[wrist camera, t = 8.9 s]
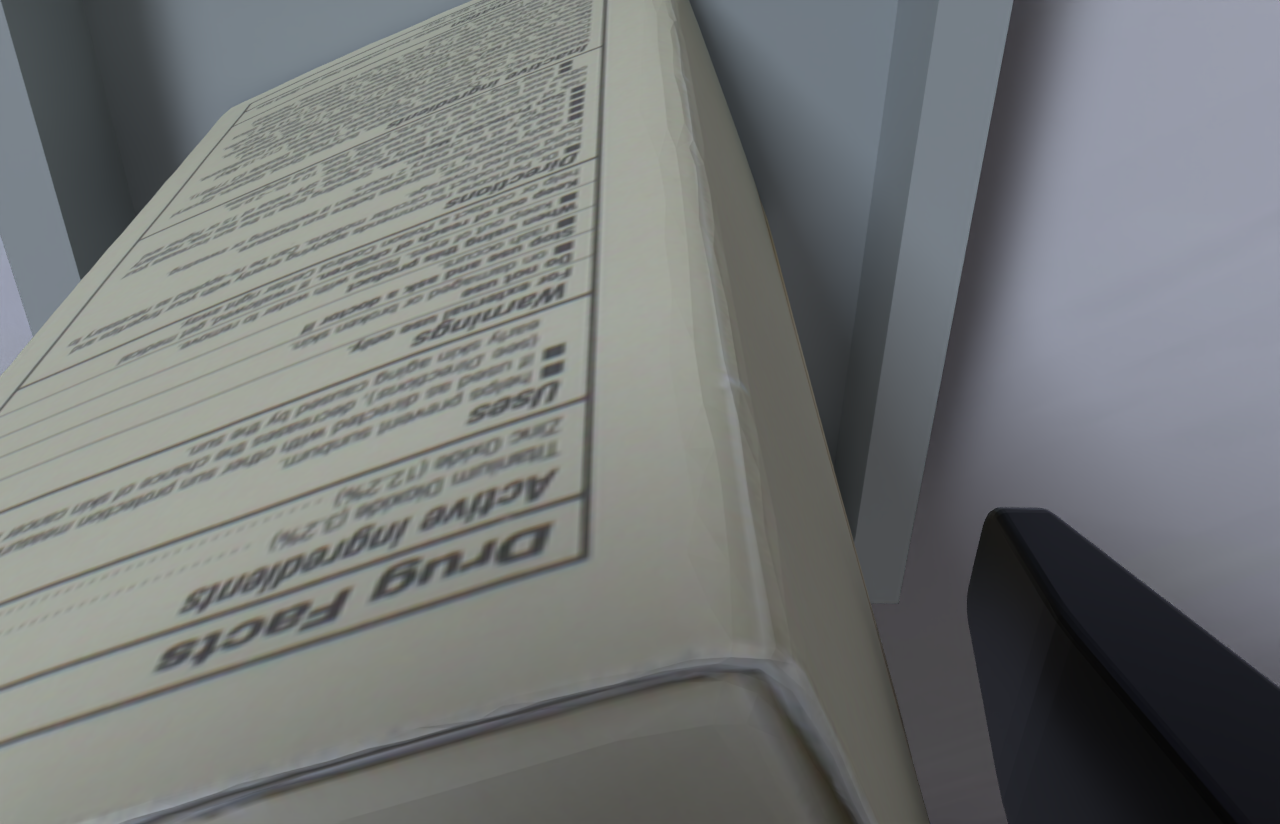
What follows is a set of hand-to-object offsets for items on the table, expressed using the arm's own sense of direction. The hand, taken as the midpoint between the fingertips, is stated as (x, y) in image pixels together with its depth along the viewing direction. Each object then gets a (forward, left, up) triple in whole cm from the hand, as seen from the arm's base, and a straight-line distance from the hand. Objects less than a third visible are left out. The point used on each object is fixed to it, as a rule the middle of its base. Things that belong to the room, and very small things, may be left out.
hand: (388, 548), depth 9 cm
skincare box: (0, 0, -8) cm, 8 cm away
